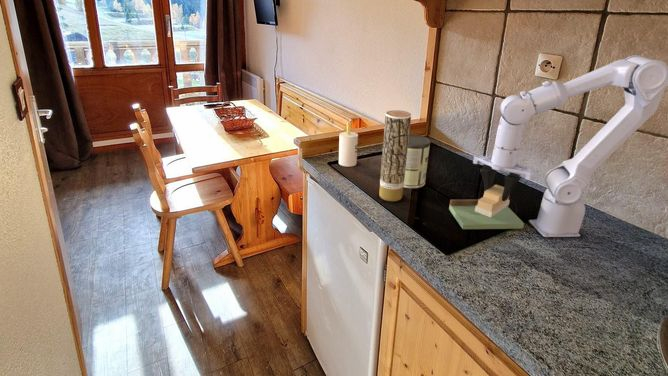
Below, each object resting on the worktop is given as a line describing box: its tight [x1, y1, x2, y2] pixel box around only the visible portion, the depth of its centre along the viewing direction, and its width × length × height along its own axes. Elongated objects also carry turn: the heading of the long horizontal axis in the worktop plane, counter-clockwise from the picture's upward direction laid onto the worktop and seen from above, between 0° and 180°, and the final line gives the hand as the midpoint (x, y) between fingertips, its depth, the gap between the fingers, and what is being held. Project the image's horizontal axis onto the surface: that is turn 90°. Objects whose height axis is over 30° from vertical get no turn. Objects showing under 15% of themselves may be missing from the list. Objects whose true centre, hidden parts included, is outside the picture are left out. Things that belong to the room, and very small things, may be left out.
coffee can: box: [403, 134, 432, 189], centre depth 126 cm, size 10×10×14 cm
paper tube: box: [378, 109, 412, 203], centre depth 113 cm, size 7×7×25 cm
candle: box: [338, 121, 359, 168], centre depth 139 cm, size 6×6×15 cm
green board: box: [448, 198, 525, 230], centre depth 108 cm, size 16×11×3 cm
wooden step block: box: [475, 184, 511, 217], centre depth 103 cm, size 10×4×5 cm, turn 134°
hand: (495, 196), depth 104 cm, fingers closed on wooden step block, 4 cm apart
